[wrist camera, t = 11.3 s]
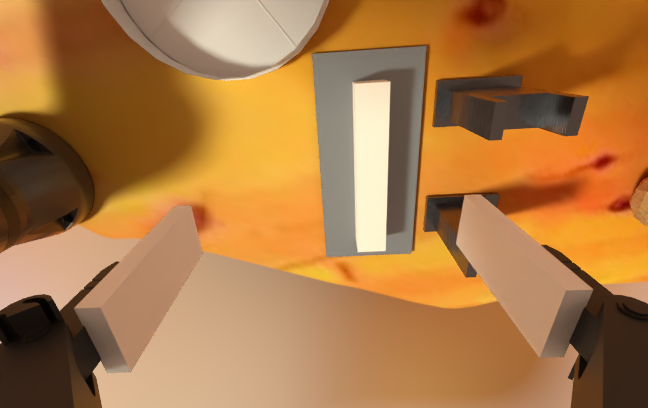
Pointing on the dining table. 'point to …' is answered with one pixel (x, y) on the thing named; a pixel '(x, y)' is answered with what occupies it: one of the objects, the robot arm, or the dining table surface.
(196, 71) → the dish
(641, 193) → the potato
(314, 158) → the dining table surface
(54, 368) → the robot arm
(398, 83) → the slate board
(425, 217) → the post
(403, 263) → the dining table surface
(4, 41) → the dining table surface
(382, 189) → the rail
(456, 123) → the post
